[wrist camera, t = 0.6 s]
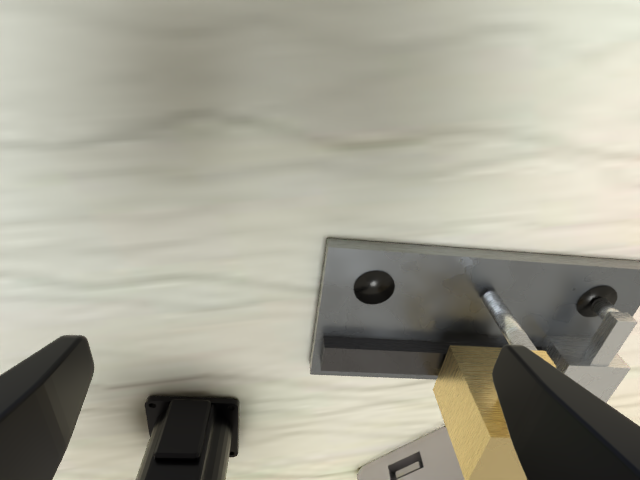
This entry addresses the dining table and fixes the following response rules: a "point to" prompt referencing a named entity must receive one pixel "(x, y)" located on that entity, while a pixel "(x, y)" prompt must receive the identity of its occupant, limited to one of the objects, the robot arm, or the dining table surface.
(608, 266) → the dividers base
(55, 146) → the dining table surface
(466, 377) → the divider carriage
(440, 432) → the charger
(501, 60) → the dining table surface
